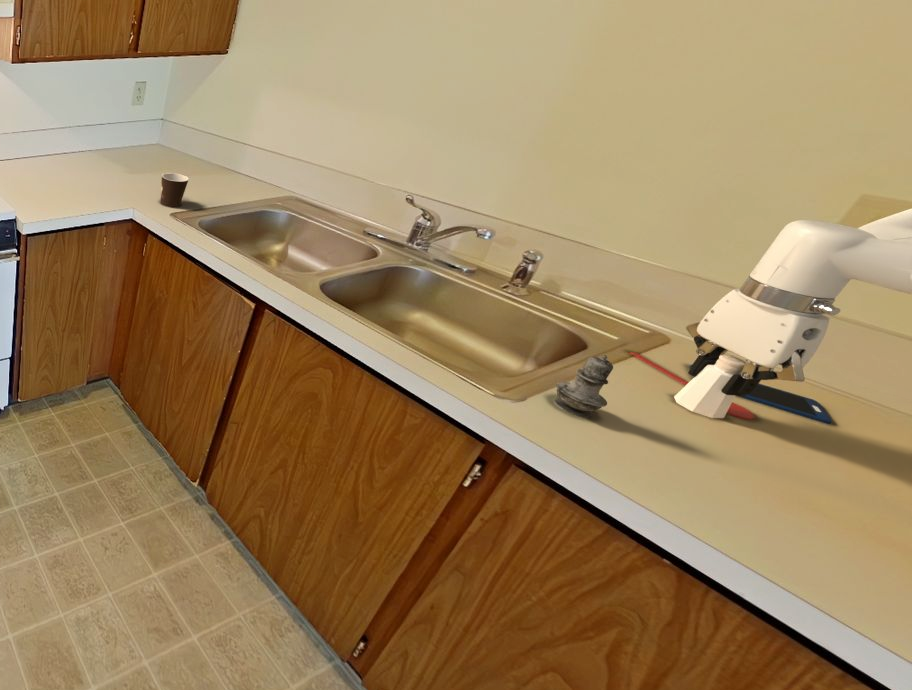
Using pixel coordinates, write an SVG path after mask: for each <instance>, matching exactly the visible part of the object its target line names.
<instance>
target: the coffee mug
mask: <svg viewBox="0 0 912 690" xmlns="http://www.w3.org/2000/svg"><path fill="white" fill-rule="evenodd" d="M189 180H190V178H189V177H188V176H186V175H185V174H184V175H183V174H180V173H174V172H166V173H162V174H161V182H160V183H161V185H160V204H161V205H162V206H164V207H166V208H179V207H181V203H182V200H183V197H184V195H185V192H186V189H187V186H188V183H189Z"/></svg>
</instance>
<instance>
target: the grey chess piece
mask: <svg viewBox="0 0 912 690" xmlns="http://www.w3.org/2000/svg"><path fill="white" fill-rule="evenodd" d="M607 359H608V356H607V355H606V354H603V355H601V357H599V356H590V357H588V358H587V360H586V361H585V363H584V364H583V366H582V367H581V368H579V369H577V370H575V371H576V376H575V377H574V379H573V380H572V381H571V382H569V381H559V382H557V383H556V384H555V387H556V395H557V397H555V398H554V399H553V400H552V401H553V403H554V404H555V406H556V407H558V408H559V409H561V410H562V411H564V412H566V413H568V414H571V415H573V416H576V417H580V418H584V419H585V418H586V419H589V418H593V413H592V412H595V411H598V410H600V409H602V408H605V407H606V406H607V405H608V402H607V400H606V398H604V396H602V395H601V394H600V391H601V390H602V388H603V386H604V385H608V384H609V380H608V377H609V376H610V374H611V373H612V371H613V370H614V365H613V363H612V362H611V361H609V360H607Z"/></svg>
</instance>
